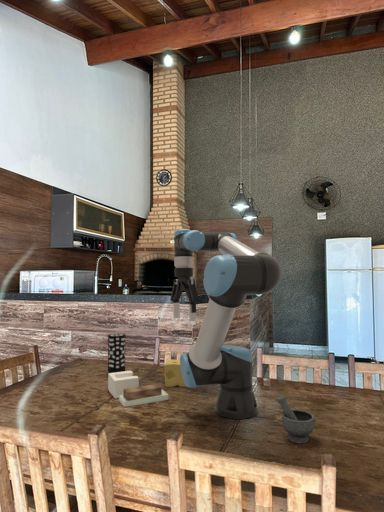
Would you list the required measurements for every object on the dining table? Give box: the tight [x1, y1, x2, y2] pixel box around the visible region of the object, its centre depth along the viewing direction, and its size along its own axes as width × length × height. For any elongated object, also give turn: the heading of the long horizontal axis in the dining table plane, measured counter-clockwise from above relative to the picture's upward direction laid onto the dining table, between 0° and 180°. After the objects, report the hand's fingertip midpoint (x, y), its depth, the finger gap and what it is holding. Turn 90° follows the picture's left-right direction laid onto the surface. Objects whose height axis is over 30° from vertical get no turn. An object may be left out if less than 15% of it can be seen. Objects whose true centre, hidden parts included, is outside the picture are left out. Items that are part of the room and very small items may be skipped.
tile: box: [123, 383, 163, 401], centre depth 144 cm, size 14×5×3 cm, turn 118°
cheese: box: [164, 358, 188, 388], centre depth 166 cm, size 10×11×10 cm
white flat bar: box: [118, 389, 169, 408], centre depth 144 cm, size 8×18×2 cm, turn 115°
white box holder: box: [107, 370, 140, 399], centre depth 154 cm, size 10×12×7 cm
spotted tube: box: [107, 332, 126, 374], centre depth 178 cm, size 8×8×20 cm
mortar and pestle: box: [276, 395, 316, 444], centre depth 111 cm, size 11×9×12 cm
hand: (184, 319), depth 148 cm, fingers open, 13 cm apart
